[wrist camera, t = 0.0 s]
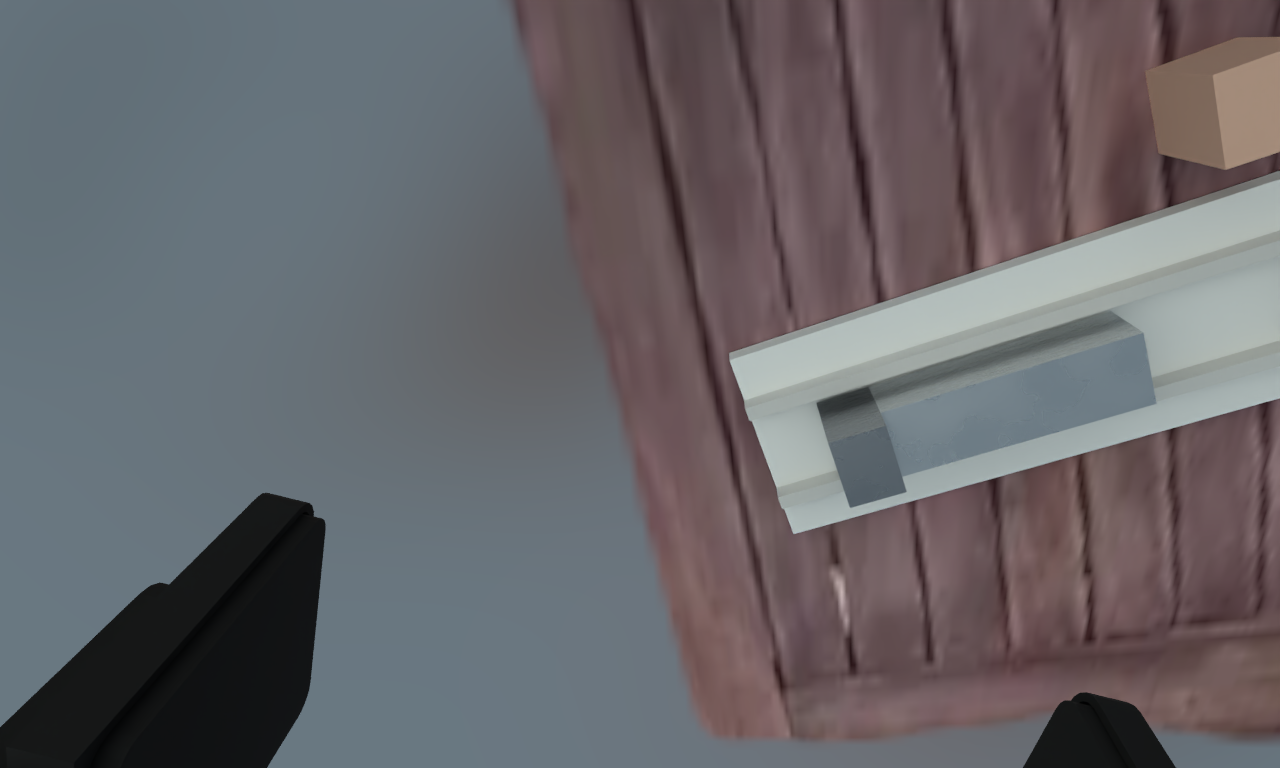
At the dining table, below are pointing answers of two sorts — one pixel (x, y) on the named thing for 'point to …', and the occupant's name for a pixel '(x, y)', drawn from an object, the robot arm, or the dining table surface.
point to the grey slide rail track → (1028, 305)
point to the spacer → (1219, 103)
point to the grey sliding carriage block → (985, 403)
